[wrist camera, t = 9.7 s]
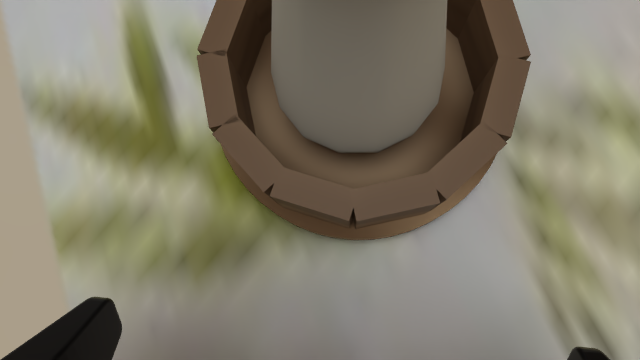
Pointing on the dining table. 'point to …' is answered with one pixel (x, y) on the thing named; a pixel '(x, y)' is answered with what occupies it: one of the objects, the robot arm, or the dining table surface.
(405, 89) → the salt shaker
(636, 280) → the dining table surface
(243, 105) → the collar stand
